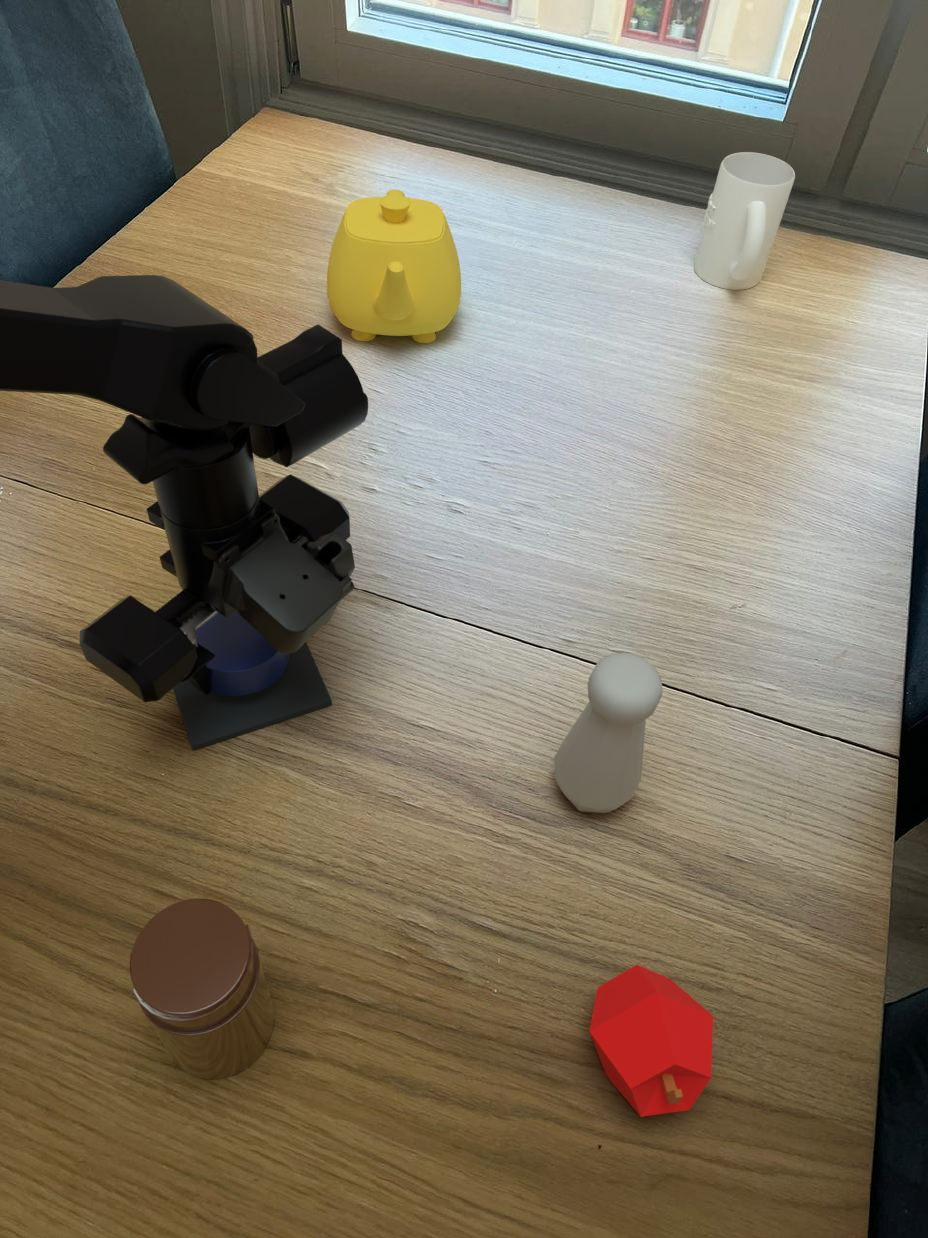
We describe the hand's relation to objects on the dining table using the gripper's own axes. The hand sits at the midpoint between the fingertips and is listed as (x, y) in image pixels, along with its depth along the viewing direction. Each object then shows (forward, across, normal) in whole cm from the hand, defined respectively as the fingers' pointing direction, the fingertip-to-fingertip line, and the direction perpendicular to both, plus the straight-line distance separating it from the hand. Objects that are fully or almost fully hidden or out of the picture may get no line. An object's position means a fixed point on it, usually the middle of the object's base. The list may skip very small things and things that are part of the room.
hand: (240, 658), depth 66 cm
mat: (+2, 0, 0) cm, 2 cm away
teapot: (+2, +42, +19) cm, 47 cm away
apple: (+2, -6, -36) cm, 36 cm away
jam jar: (+2, -18, -16) cm, 24 cm away
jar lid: (-3, 0, 0) cm, 3 cm away
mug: (+2, +75, -4) cm, 75 cm away
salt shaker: (+2, +8, -25) cm, 26 cm away
